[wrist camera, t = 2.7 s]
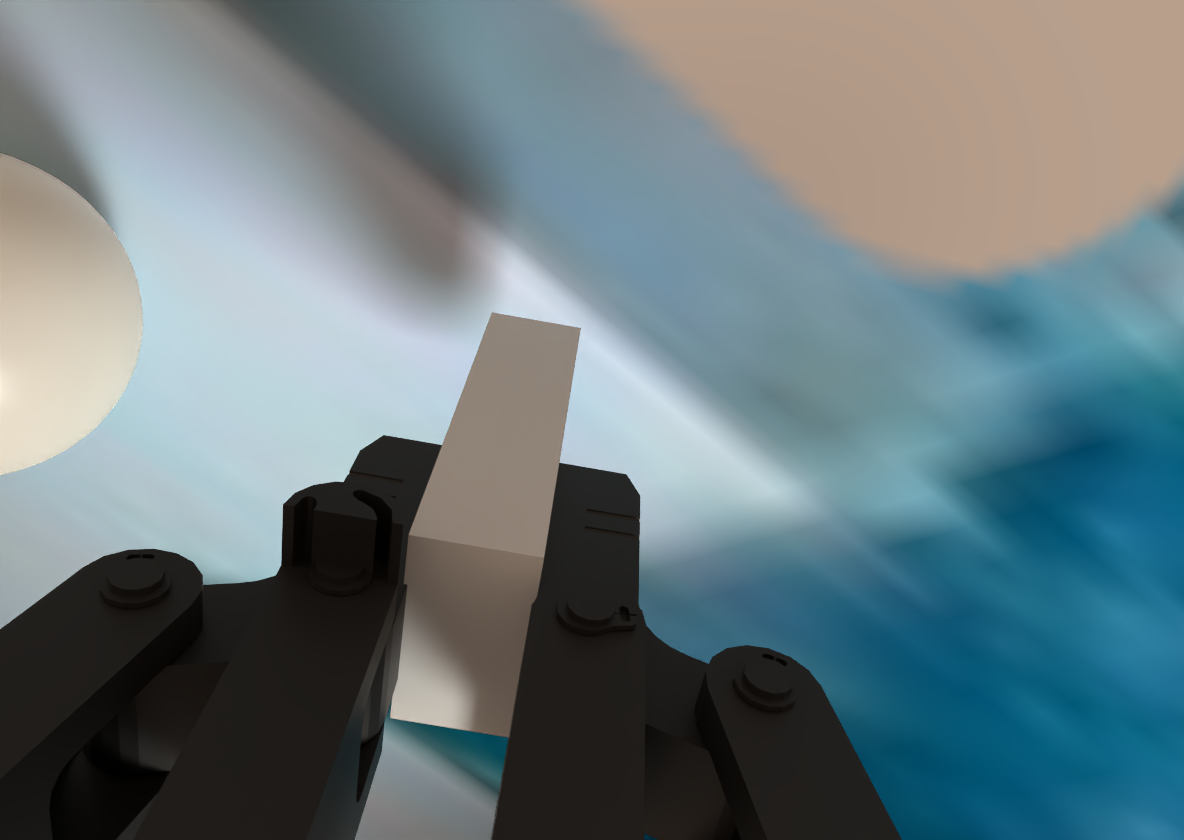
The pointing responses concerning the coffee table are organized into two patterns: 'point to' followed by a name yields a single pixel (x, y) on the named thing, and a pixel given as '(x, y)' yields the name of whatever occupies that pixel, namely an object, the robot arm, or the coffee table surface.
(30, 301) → the cue ball
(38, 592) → the coffee table surface
